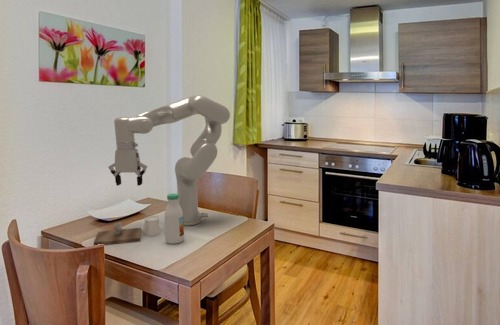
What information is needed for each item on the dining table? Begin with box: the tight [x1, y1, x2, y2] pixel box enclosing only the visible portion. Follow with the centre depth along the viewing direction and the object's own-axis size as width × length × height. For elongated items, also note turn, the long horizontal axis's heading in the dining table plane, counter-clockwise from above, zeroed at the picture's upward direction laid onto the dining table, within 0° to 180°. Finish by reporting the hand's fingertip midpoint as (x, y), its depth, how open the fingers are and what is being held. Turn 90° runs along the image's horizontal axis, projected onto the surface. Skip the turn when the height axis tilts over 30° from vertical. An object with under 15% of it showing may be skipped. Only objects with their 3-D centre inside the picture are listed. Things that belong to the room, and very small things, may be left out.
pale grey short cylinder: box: [144, 215, 161, 237], centre depth 156 cm, size 6×6×7 cm
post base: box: [93, 221, 142, 246], centre depth 150 cm, size 18×13×6 cm
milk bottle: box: [163, 193, 185, 245], centre depth 146 cm, size 8×8×20 cm
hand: (129, 184), depth 154 cm, fingers open, 9 cm apart
